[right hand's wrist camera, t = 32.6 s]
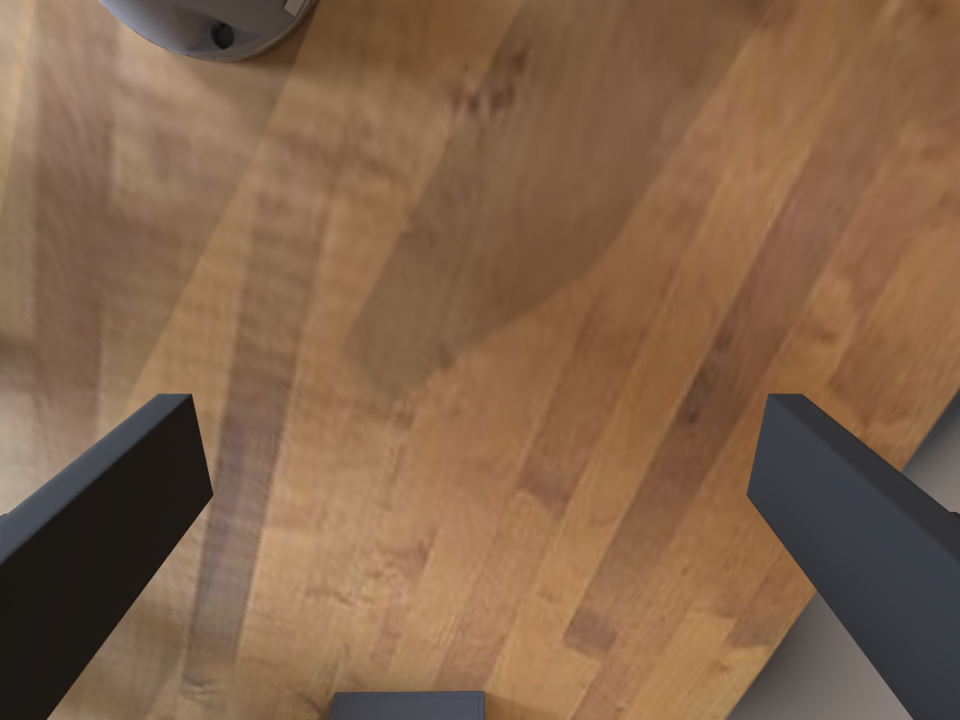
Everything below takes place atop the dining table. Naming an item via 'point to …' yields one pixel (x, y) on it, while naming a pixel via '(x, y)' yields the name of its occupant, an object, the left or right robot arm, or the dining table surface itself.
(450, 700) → the handled tray
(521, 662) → the dining table surface
